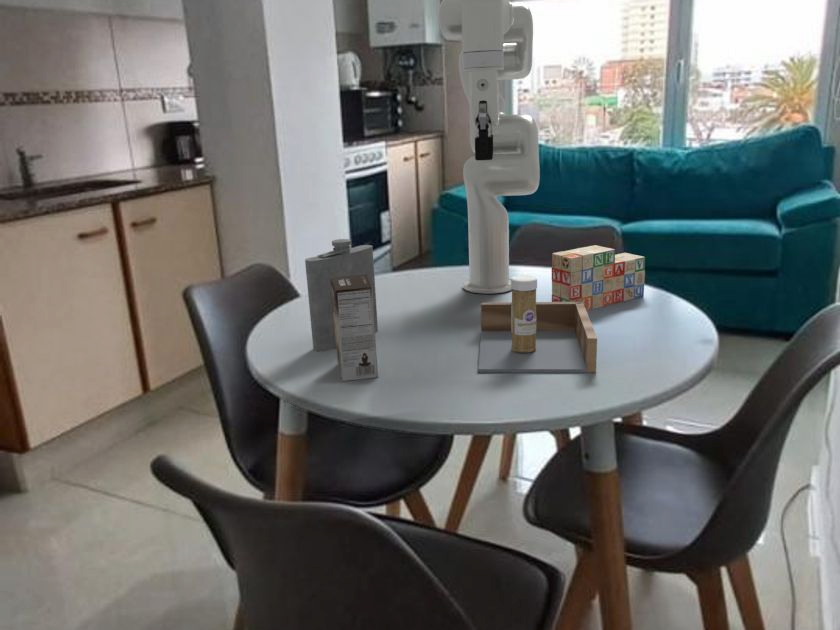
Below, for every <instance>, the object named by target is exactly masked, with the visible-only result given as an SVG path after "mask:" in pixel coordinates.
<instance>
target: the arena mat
mask: <svg viewBox="0 0 840 630" xmlns="http://www.w3.org/2000/svg"><path fill="white" fill-rule="evenodd" d="M511 346H512V332H511V331H481V330H480V343H479V353H478V355H479V356H478V368H477V372H478V373H543V374H544V373H545V374H547V373H551V374H553V373H558V374H559V373H561V374H562V373H581V374H582V373H587V368H586V365H585V361H584V358H583V355H582V352H581V349H580V345H579V342H578V339H577V336H576V332H575V331H536V350H535V351H533V352H530V353H518V352H515V351H513V350H512V349H511Z"/></svg>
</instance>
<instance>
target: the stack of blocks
mask: <svg viewBox="0 0 840 630" xmlns="http://www.w3.org/2000/svg"><path fill="white" fill-rule="evenodd" d="M551 256H552V257H551V258H552V259H551V261H552V262H551V264H552V266H551V302H583V304H584V306H585V309H586V311H588V309H589V310H592V309H597V308H603V307H604V306H609V305H614V304H617V303H621V302H626V301H631V300H635V299H640V298H643V297H644V295H645V294H644V293H645V277H646V270H645V267H646V257H645V256H642V255H637V254H632V253H628V252H623V253H622V252H621V253H617V254H616V249H614V248H611V247H605V246H601V245H596V244H594V245H589V246H584V247H577V248H574V249H573V248H572V249H569V250H564V251H557V252H553V253H552V254H551Z"/></svg>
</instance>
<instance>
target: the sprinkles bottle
mask: <svg viewBox="0 0 840 630" xmlns="http://www.w3.org/2000/svg"><path fill="white" fill-rule="evenodd" d="M510 279H511V288H512V289H511V290H510V291H511V302H512V305H511V332H512V346H511V349H512V350H513V351H515V352H518V353H530V352H533V351H535V350H536V302H537V288H538V278H537V277H536V276H533V275H531V274H530V275H528V274H521V275H514V276H512V277H511V278H510Z"/></svg>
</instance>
